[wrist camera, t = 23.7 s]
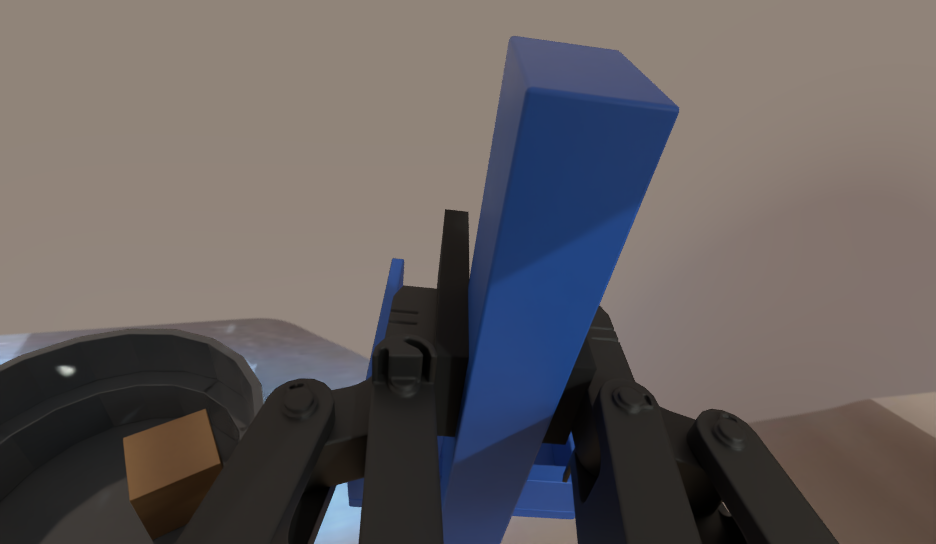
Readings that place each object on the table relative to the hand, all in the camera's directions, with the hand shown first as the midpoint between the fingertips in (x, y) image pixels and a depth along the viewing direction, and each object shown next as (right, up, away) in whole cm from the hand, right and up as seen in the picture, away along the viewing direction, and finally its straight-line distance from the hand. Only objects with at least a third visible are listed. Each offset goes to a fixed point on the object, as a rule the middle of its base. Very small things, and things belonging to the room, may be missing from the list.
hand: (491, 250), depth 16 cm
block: (-17, -13, +11) cm, 24 cm away
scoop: (-1, -6, +4) cm, 8 cm away
